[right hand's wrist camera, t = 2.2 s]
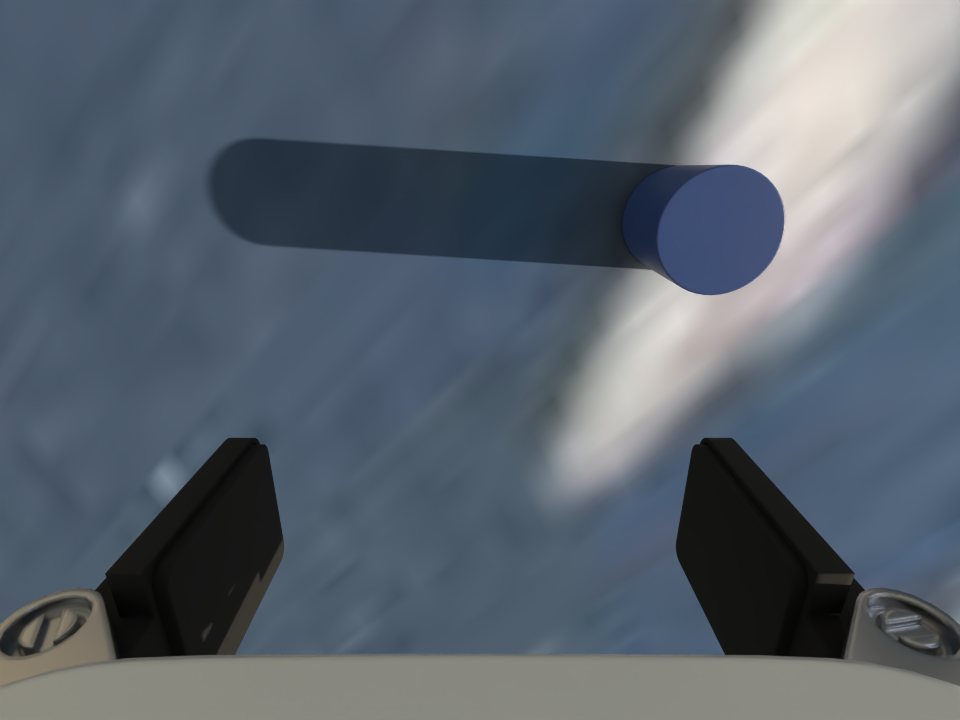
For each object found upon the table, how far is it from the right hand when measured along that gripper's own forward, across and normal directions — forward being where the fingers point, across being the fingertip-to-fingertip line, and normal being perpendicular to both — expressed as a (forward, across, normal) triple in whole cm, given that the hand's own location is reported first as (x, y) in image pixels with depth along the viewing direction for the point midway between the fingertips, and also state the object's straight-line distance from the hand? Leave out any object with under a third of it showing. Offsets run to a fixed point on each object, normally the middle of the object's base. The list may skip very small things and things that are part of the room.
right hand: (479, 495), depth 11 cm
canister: (+12, -8, -5) cm, 15 cm away
